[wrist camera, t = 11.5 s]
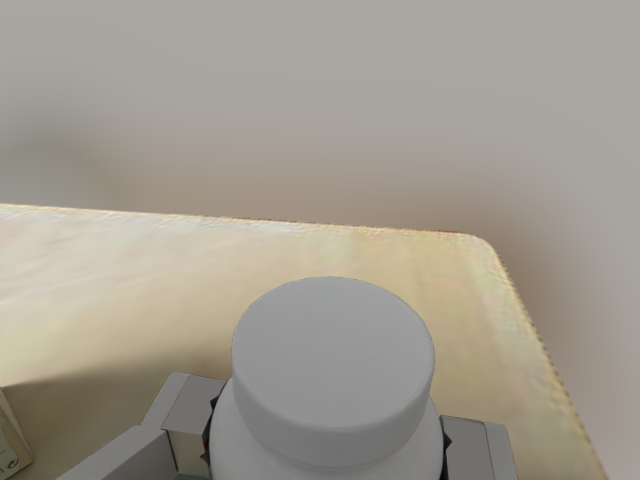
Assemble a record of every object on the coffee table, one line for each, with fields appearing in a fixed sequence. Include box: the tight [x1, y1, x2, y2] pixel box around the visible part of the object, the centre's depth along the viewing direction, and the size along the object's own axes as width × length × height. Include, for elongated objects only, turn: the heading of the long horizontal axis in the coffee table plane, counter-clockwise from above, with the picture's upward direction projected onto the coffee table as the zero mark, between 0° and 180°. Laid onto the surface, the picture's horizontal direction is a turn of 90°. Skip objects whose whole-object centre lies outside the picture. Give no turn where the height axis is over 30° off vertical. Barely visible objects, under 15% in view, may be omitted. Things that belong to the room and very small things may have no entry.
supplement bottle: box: [209, 277, 443, 480], centre depth 11 cm, size 5×5×10 cm
